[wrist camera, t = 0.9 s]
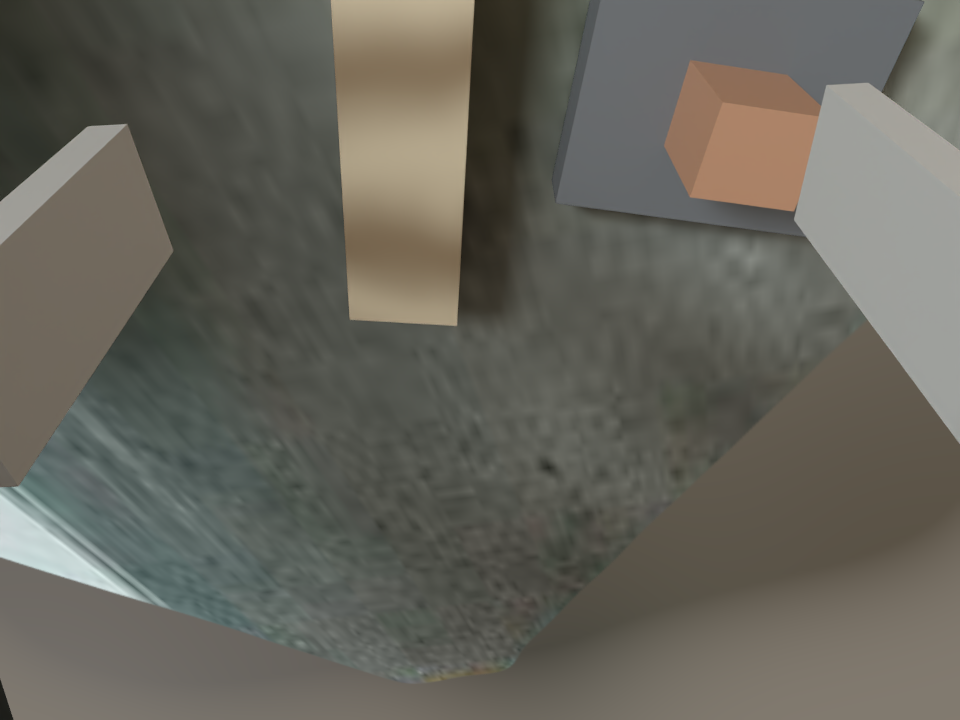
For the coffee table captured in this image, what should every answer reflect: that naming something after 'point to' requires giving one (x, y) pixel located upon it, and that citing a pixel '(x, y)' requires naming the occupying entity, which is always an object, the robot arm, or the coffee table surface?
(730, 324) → the coffee table surface
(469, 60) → the beam
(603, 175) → the fulcrum
